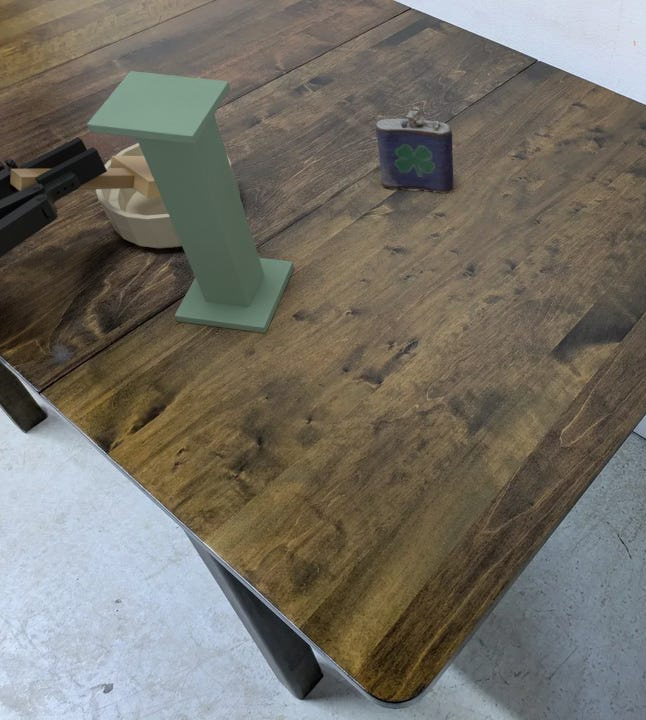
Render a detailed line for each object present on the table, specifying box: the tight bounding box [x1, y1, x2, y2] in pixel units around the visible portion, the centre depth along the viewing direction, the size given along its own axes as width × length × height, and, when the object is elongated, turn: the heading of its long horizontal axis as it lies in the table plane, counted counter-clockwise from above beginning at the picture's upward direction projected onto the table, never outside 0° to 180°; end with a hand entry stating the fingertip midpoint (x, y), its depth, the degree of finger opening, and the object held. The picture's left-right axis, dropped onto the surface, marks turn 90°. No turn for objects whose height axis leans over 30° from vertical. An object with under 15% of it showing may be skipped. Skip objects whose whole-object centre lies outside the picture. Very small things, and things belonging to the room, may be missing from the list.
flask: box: [375, 106, 454, 194], centre depth 89 cm, size 9×3×11 cm, turn 84°
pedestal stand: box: [86, 70, 295, 334], centre depth 71 cm, size 10×10×25 cm
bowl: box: [95, 142, 241, 249], centre depth 87 cm, size 15×15×6 cm
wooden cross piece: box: [10, 155, 161, 198], centre depth 79 cm, size 7×18×2 cm, turn 141°
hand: (92, 154), depth 76 cm, fingers closed on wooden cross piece, 2 cm apart
